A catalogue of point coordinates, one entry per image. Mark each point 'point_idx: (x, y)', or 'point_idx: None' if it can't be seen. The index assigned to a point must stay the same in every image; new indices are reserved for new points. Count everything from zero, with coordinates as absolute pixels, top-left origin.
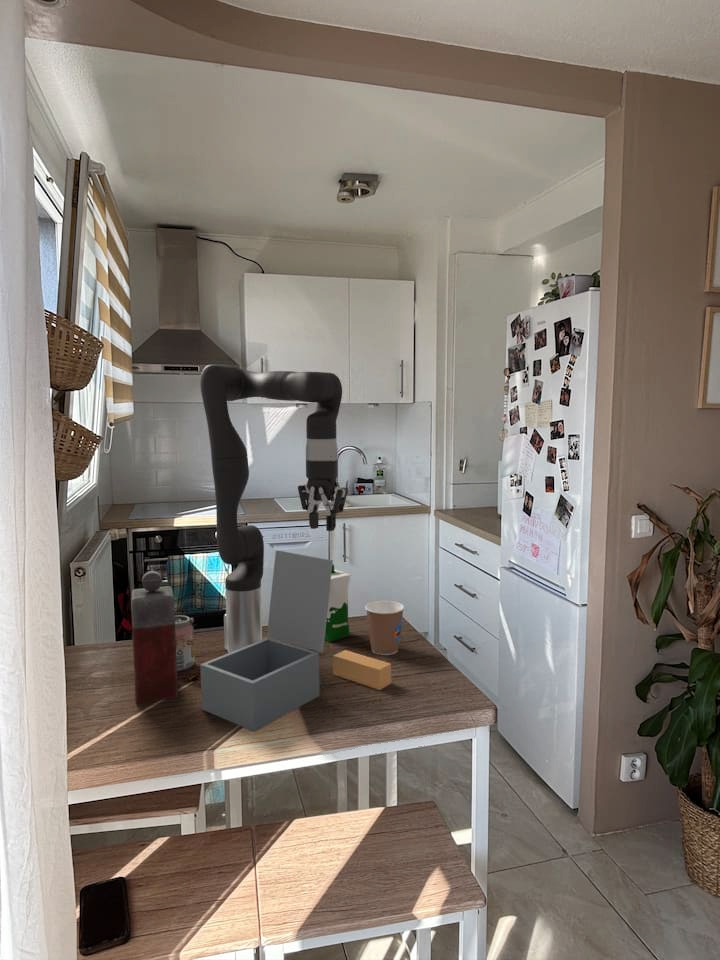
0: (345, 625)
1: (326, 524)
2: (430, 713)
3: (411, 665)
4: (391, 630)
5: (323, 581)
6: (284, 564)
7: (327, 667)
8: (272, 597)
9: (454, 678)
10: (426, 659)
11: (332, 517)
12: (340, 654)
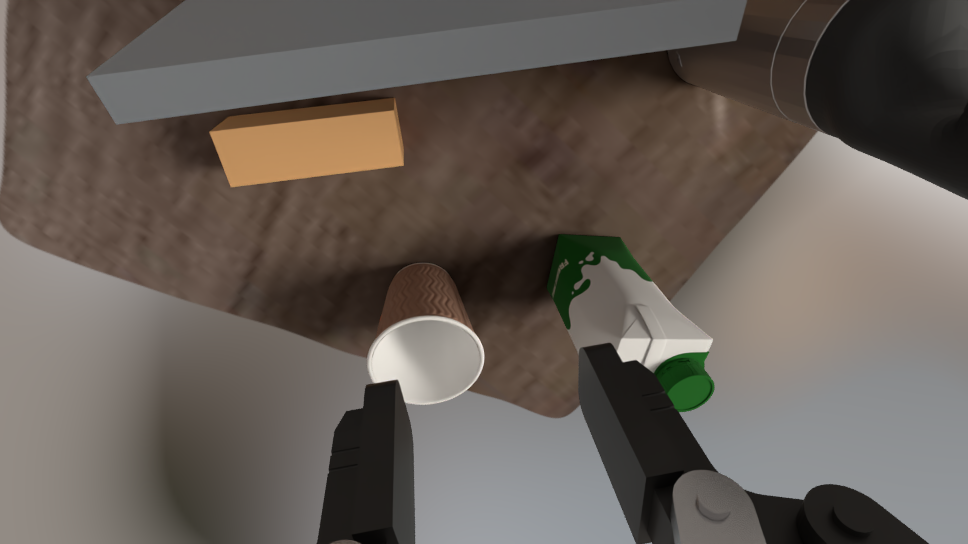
0: (552, 291)
1: (392, 426)
2: (18, 106)
3: (308, 273)
4: (381, 316)
5: (193, 18)
6: None
7: (442, 119)
8: None
9: (182, 289)
10: (314, 316)
11: (322, 540)
12: (385, 132)
